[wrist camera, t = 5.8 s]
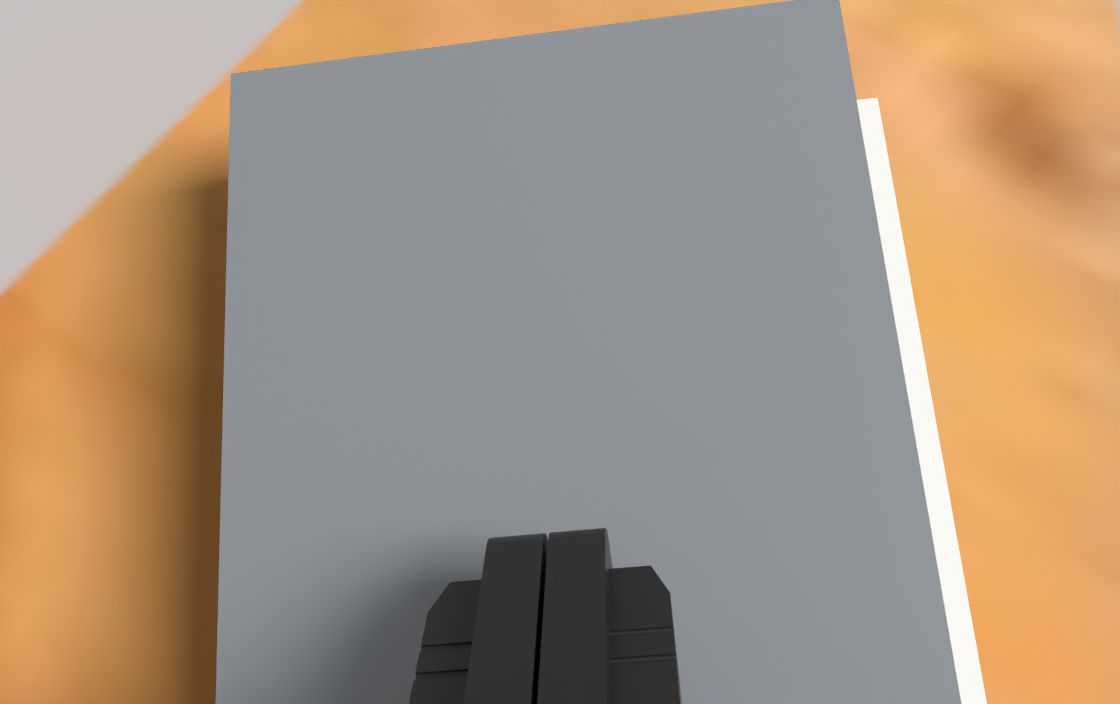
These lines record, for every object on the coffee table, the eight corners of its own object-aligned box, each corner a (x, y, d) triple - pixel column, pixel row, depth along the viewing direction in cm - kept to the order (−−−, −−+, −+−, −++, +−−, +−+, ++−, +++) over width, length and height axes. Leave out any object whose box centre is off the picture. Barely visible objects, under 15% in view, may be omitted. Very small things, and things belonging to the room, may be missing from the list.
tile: (211, 861, 14) (230, 73, 17) (284, 829, 16) (288, 147, 20) (981, 816, 13) (838, -5, 16) (933, 790, 15) (818, 82, 19)
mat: (234, 1144, 16) (217, 1164, 15) (251, 188, 20) (238, 174, 20) (1049, 1118, 15) (1065, 1137, 14) (871, 114, 19) (877, 97, 19)
